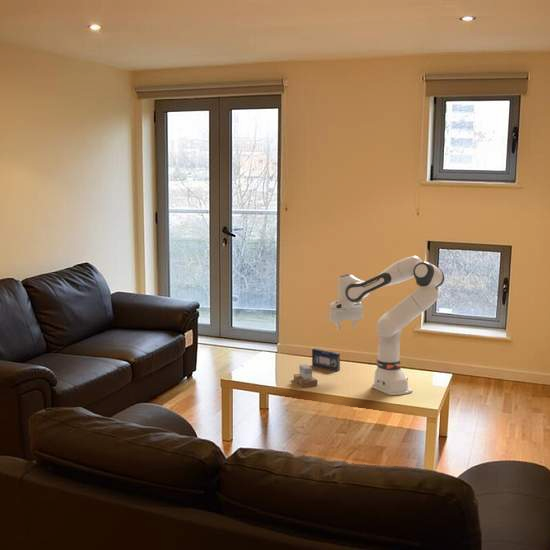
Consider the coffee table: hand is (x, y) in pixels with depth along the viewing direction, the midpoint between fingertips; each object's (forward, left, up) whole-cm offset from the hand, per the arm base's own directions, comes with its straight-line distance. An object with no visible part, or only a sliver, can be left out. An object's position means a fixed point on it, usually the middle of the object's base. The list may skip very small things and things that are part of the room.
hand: (346, 328), depth 375 cm
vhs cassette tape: (+16, +5, -27) cm, 32 cm away
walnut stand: (-6, +27, -27) cm, 38 cm away
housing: (-6, +27, -24) cm, 36 cm away
